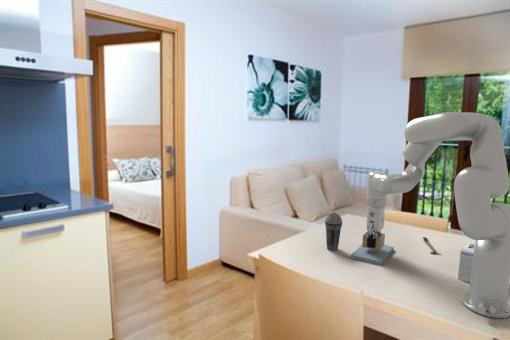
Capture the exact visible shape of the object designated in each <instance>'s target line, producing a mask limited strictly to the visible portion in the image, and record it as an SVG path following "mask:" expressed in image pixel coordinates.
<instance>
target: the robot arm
mask: <svg viewBox="0 0 510 340" xmlns="http://www.w3.org/2000/svg"><path fill="white" fill-rule="evenodd" d="M403 133H404V138H405V140H406V141H407V144H406V145H405V147H404V148H403V150H402V153H401V154H402V157H403V158H404V159H405V161H406V162H408V165H407V167H406V168H405V169H404V170H403V171H402V172H401V173H391V174H389V173H388V174H387V173H386V172H383V171H371V172H369V173H368V175H367V186H366V187H367V188H366V204H365V205H366V206H367V207H368V208H367V215H366V230H367V231H368V235H367V247H370V248H375V242H376V238H375V235H376V232H377V233H382V230H383V229H384V227H385V214H386V213H385V208H386V207H387V197H388V196H387V195H395V194H396V195H397V194H405V193H408V192H410V191H412V190H413V189H414V187H415V186H417V184H418V183H419V182H420V181H421V180H422V179H423V175H424V171H425V163H426V162H427V161H428V159H429V158H430V157H431V156H432V154H433V153H434V152H435V151H436V149H438V147H439V146H440V145H441V144H442V142H449V141H472V144H471V146H470V150H469V151H470V152H469V157H470V162H471V166H470V167H466V168H463V169H462V170H460V171H459V173H457V174H456V177H455V179H454V182H453V193H454V200H455V207H456V215H457V221H458V225H459V228H460V230H461V231H462V234H464V235H465V236H466V237H467V238H469V239H471V240H473V241H475V243H474V245H475V246H474V253H473V262H472V271H471V280H470V282H469V290H468V294H465V295H463V296H462V300H461V301H462V304H463V305H464V306H465V307H466V308H467V309H469V310H470V311H471V312H474V313H476V314H479V315H482V316H486V317H489V318H494V319H495V318H496V319H507V318H509V317H510V304H508V296H509V289H510V204H508V203H503V202H492V203H491V199H497V198H500V197H503V196H506V194H507V193H508V191H509V189H510V178H509V172H508V165H507V158H506V153H505V148H504V138H503V137H504V136H503V131H502V127H501V125H500V123H499V122H498V121H497V119H496V118H494V117H492V116H491V115H488V114H484V113H479V112H469V111H468V112H465V111H464V112H461V111H460V112H459V111H446V112H440V113H436V114H432V115H427V116H422V117H416V118H413V119H412V120H410V121H409V122H408V123H407V124H406V126H405V128H404V131H403ZM372 232H374V234H373V233H372Z"/></svg>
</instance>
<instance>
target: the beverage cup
mask: <svg viewBox="0 0 510 340" xmlns="http://www.w3.org/2000/svg"><path fill="white" fill-rule="evenodd" d="M333 205H334V207H333V209H334V210H333V212H332V213H329V214H327V216H326V218H325V220H324V223H325V224H324V225H325V236H326V239H325V240H326V250H328V251H332V252H335V251H338V249H339V244H340V239H341V237H340V236H341V230H342V227H343V219H342V217H341V215H339V214H338V213H336V207H337V202H334V204H333Z"/></svg>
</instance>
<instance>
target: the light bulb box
mask: <svg viewBox="0 0 510 340" xmlns="http://www.w3.org/2000/svg"><path fill="white" fill-rule="evenodd" d="M474 246H475V243H474V244H473V243H469V242H466V243H465V245H464V246H463V247H462V249H460V251H459V252H460V253H459V254H460V255H459V261H458V263H459V264H458V272H457V280H460V281H463V282H465V283H466V282H467V283H470V280H471V271H472V262H473V253H474Z"/></svg>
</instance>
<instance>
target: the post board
mask: <svg viewBox="0 0 510 340" xmlns="http://www.w3.org/2000/svg"><path fill="white" fill-rule="evenodd" d="M373 234H374V233H373ZM375 237H378V234H376V235H375ZM393 251H394V246H391V245H386V244H384V246H383V247H382V249H381V250H375V249H370V248H365V247H362V244H361V245H360V246H359V247H357V248H356V249H355V251H353V252H352V253H351V254H350V259H352V260H355V261H361V262H365V263H369V264H373V265H378V266H383V264H384V263H385V262H386V261H387V259H388V258H389V257H390V255H391V254H392V252H393Z"/></svg>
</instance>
